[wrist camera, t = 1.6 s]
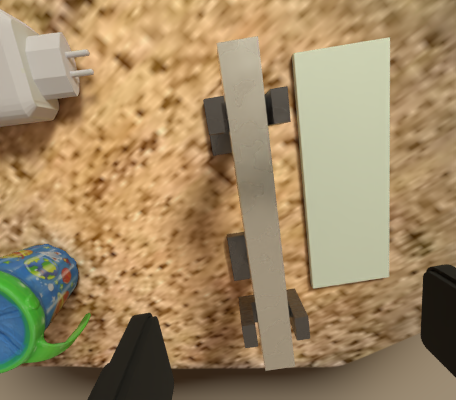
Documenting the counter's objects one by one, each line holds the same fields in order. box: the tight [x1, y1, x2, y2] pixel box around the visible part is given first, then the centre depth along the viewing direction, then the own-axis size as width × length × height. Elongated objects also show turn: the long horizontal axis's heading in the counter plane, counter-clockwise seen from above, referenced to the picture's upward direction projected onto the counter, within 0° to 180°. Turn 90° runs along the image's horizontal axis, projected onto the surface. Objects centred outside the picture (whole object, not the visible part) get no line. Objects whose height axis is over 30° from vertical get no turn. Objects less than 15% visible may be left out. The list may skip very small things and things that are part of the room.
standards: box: [203, 87, 310, 348], centre depth 23 cm, size 6×22×14 cm, turn 9°
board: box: [292, 37, 390, 289], centre depth 29 cm, size 10×28×1 cm, turn 9°
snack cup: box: [0, 244, 91, 373], centre depth 27 cm, size 16×10×10 cm
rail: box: [217, 36, 295, 371], centre depth 18 cm, size 2×24×2 cm, turn 9°
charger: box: [0, 9, 94, 127], centre depth 24 cm, size 5×9×15 cm
